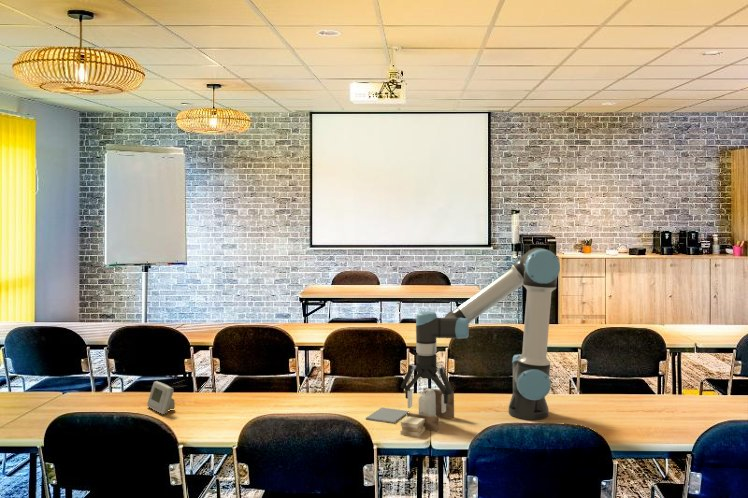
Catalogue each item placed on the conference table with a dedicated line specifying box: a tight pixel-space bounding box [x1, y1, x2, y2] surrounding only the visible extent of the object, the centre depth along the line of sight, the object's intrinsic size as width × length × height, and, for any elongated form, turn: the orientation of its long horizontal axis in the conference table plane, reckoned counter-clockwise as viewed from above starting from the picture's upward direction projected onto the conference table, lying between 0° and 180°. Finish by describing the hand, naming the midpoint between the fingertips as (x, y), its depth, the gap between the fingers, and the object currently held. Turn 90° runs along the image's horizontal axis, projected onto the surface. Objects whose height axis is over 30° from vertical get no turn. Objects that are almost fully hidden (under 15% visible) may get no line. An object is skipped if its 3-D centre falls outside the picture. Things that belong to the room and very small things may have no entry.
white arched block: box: [418, 388, 436, 416], centre depth 229 cm, size 10×4×12 cm, turn 156°
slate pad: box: [365, 407, 410, 424], centre depth 238 cm, size 12×14×1 cm
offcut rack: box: [406, 387, 455, 432], centre depth 230 cm, size 12×17×10 cm
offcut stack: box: [400, 416, 426, 437], centre depth 220 cm, size 7×7×4 cm
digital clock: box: [146, 380, 176, 415], centre depth 251 cm, size 16×9×11 cm, turn 31°
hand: (426, 409), depth 229 cm, fingers open, 13 cm apart
